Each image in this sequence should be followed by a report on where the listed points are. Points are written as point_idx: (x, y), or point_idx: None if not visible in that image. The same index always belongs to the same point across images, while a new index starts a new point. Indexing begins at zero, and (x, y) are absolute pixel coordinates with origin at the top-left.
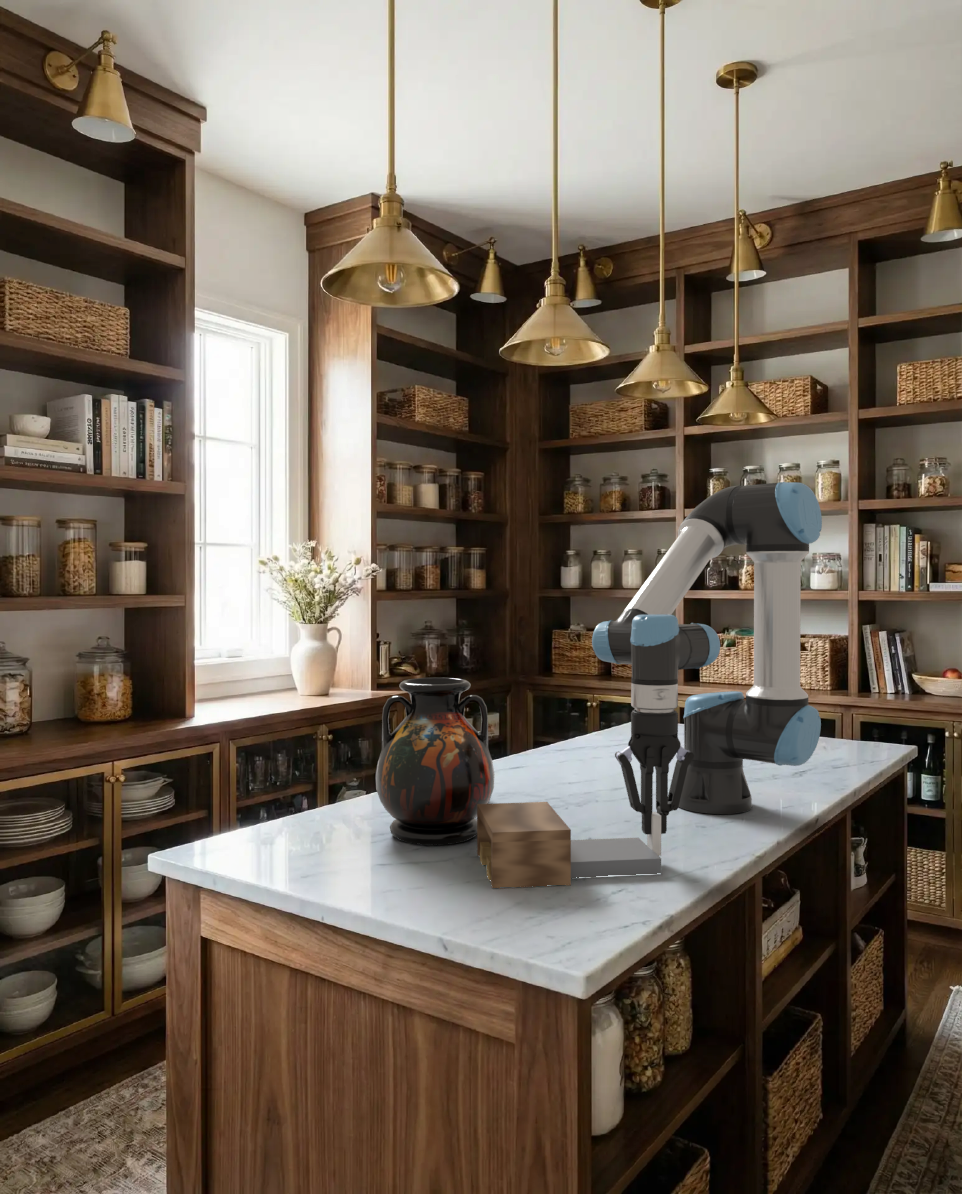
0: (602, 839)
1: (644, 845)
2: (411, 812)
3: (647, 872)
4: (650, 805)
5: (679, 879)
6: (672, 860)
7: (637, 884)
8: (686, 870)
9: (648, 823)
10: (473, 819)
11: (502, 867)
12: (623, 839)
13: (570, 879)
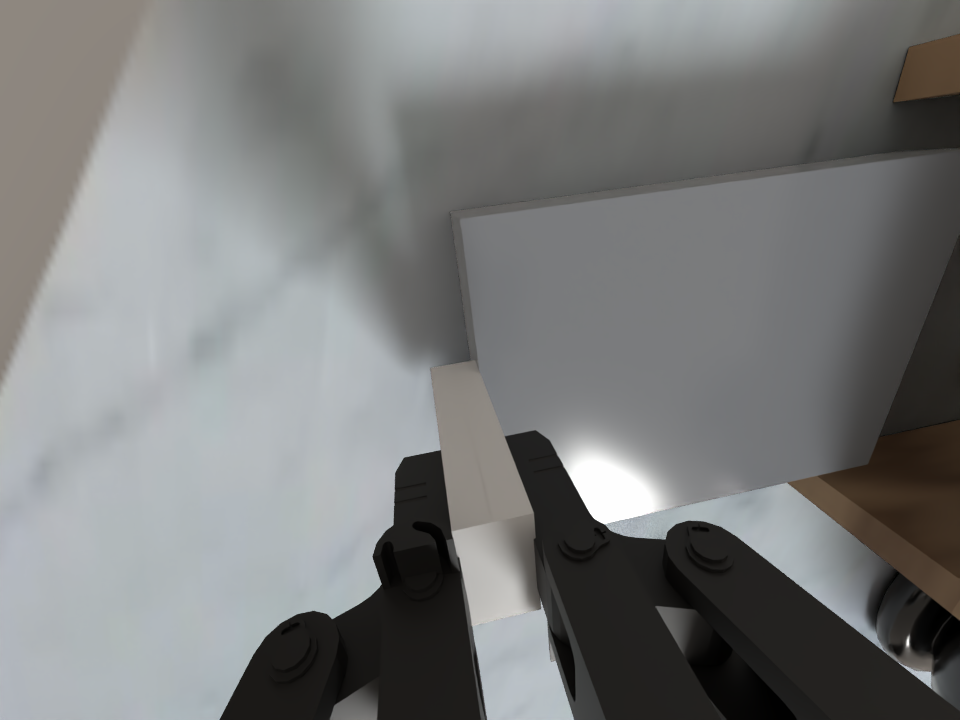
0: (657, 505)
1: None
2: None
3: (523, 203)
4: (588, 610)
5: (363, 126)
6: (364, 425)
7: (606, 41)
8: (310, 286)
9: (537, 482)
10: (929, 630)
11: None
12: None
13: (944, 38)
